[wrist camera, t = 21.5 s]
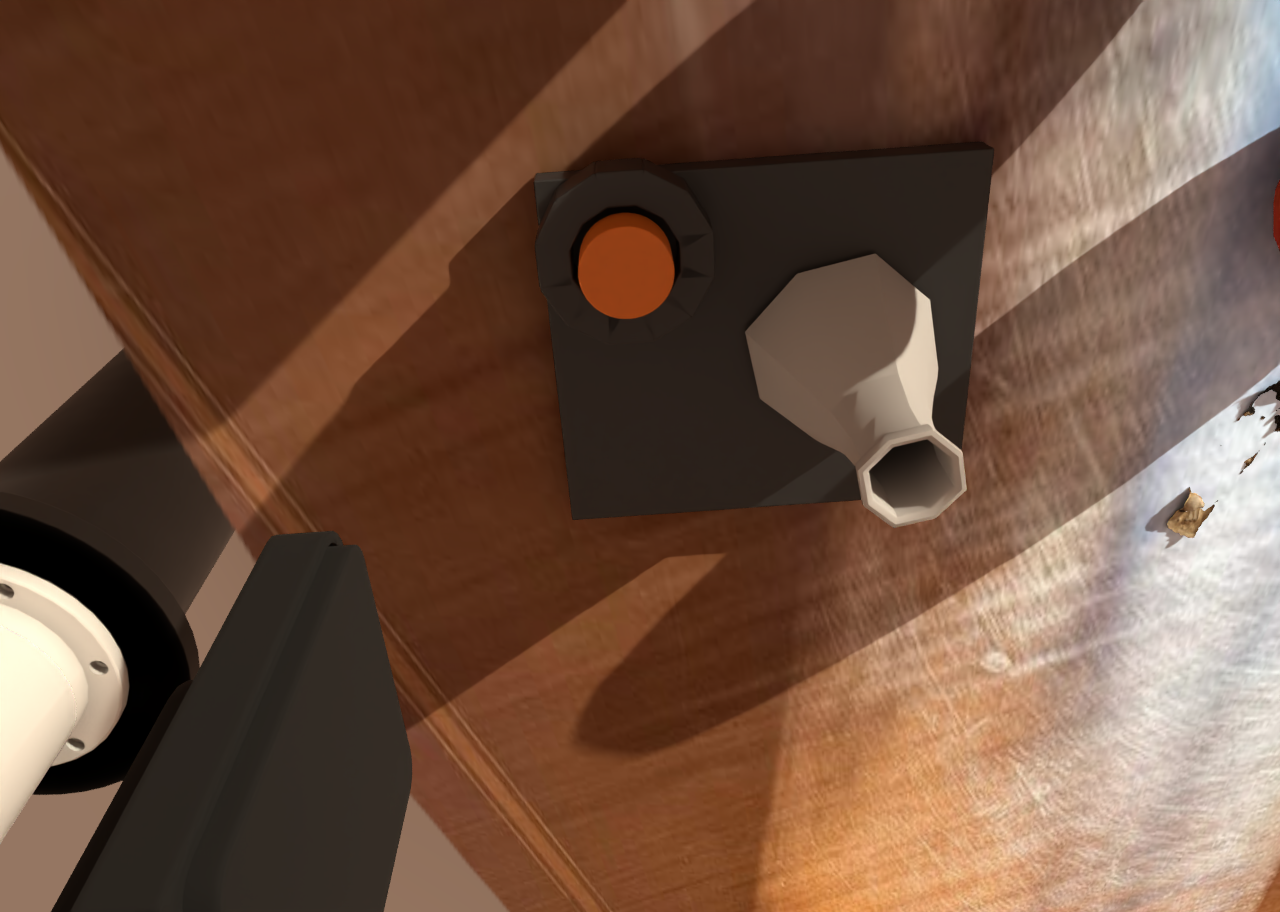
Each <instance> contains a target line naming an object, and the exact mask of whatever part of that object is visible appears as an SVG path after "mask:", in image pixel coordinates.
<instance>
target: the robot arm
mask: <svg viewBox="0 0 1280 912" xmlns="http://www.w3.org/2000/svg"><path fill="white" fill-rule="evenodd" d="M129 688H130V684H129V674H128V667H127V664H126V661H125V658H124V656H123V653H122V650H121V648H120V646H119V645H118V643H117V641H116V640H115V638H114V636H113V635H112V633H111V631H110V630H109V629H108V628H107V626H106V625H105V624H104V623H103V622H102V621H101V620H100V619H99V617H98V616H97V615H96V614H95V613H94V612H93V611H92V610H91V609H90V608H88V607H87V606H86V605H85V604H84V603H82V602H81V601H80V600H79V599H78V598H76V597H75V596H74V595H72V594H71V593H69V592H67V591H66V590H64V589H63V588H61V587H59V586H58V585H56V584H55V583H53V582H51V581H49V580H47V579H45V578H43V577H40V576H38V575H36V574H34V573H31V572H29V571H27V570H25V569H22V568H18V567H15V566H12V565H8V564H5V563H2V562H0V843H1V842H2V840H3V839H4V837H5V836H6V834H7V832H8V831H9V829H10V828H11V826H12V825H13V823H14V822H15V820H16V818H17V817H18V815H19V814H20V812H21V811H22V809H23V808H24V806H25V805H26V803H27V801H28V800H29V798H30V797H31V795H32V794H33V792H34V791H35V789H36V788H37V786H38V785H39V783H40V781H41V780H42V778H43V777H44V775H45V774H46V772H47V771H48V769H49V768H50V766H56V765H59V764H62V763H65V762H69V761H72V760H75V759H77V758H79V757H81V756H83V755H85V754H86V753H88V752H90V751H92V750H94V749H95V748H96V747H97V746H98V745H99V744H100V743H102V742H103V741H104V740H105V739H106V738H107V737H108V735H109V734H110V732H111V731H112V729H113V728H114V727H115V725H116V724H117V722H118V720H119V719H120V717H121V715H122V713H123V711H124V708H125V706H126V704H127V699H128V694H129ZM411 781H412V759H411V751H410V746H409V742H408V738H407V734H406V730H405V725H404V721H403V717H402V713H401V709H400V705H399V701H398V696H397V692H396V688H395V684H394V680H393V676H392V671H391V667H390V663H389V659H388V655H387V651H386V647H385V642H384V638H383V634H382V630H381V626H380V622H379V617H378V613H377V609H376V605H375V601H374V597H373V592H372V588H371V584H370V580H369V576H368V572H367V568H366V563H365V559H364V556H363V553H362V551H361V549H360V547H359V546H357V545H344V546H343V543H342V540H341V538H340V537H339V535H338V534H337V533H336V532H334V531H325V532H311V533H296V534H282V535H275V536H272V537H271V538H270V539H269V540H268V542H267V543H266V545H265V547H264V549H263V551H262V553H261V554H260V556H259V558H258V560H257V562H256V564H255V566H254V568H253V570H252V571H251V573H250V575H249V577H248V579H247V581H246V583H245V584H244V586H243V588H242V590H241V592H240V594H239V596H238V598H237V599H236V601H235V603H234V605H233V607H232V609H231V611H230V613H229V615H228V616H227V618H226V620H225V622H224V624H223V626H222V628H221V630H220V631H219V633H218V635H217V637H216V639H215V641H214V643H213V644H212V646H211V649H210V650H209V652H208V654H207V656H206V658H205V660H204V661H203V663H202V665H201V667H200V669H199V671H198V673H197V675H196V676H195V678H194V680H189V681H187V682H185V683H183V684H181V685H180V686H178V687H177V688H176V690H175V691H174V692H173V694H172V695H171V696H170V698H169V699H168V701H167V702H166V704H165V706H164V708H163V710H162V712H161V713H160V715H159V717H158V719H157V721H156V722H155V724H154V726H153V728H152V730H151V731H150V733H149V735H148V737H147V739H146V740H145V742H144V744H143V746H142V748H141V750H140V751H139V753H138V755H137V757H136V759H135V760H134V762H133V764H132V766H131V768H130V769H129V771H128V773H127V775H126V777H125V779H124V780H123V782H122V784H121V786H120V788H119V790H118V791H117V793H116V795H115V797H114V799H113V801H112V802H111V804H110V806H109V808H108V809H107V811H106V813H105V815H104V817H103V819H102V820H101V822H100V824H99V826H98V827H97V830H96V831H95V833H94V835H93V837H92V838H91V840H90V842H89V844H88V846H87V848H86V849H85V851H84V853H83V855H82V856H81V858H80V860H79V862H78V864H77V866H76V867H75V869H74V871H73V873H72V875H71V876H70V878H69V880H68V882H67V884H66V885H65V887H64V889H63V891H62V893H61V895H60V896H59V898H58V900H57V902H56V904H55V905H54V907H53V909H52V911H51V912H383V911H384V907H385V903H386V898H387V893H388V889H389V884H390V880H391V875H392V871H393V867H394V862H395V857H396V853H397V848H398V844H399V839H400V835H401V830H402V826H403V821H404V817H405V812H406V808H407V803H408V799H409V794H410V789H411Z"/></svg>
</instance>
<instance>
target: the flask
mask: <svg viewBox="0 0 1280 912" xmlns="http://www.w3.org/2000/svg"><path fill="white" fill-rule="evenodd" d="M745 334H746V339H747V343H748V348H749V352H750V357H751V361H752V366H753V370H754V375H755V379H756V384H757V388H758V393H759V397H760V399H761V400H762V401H764V402H765V403H766V404H768V405H769V406H770V407H772V408H773V409H774V410H776V411H777V412H778V413H780V414H781V415H783V416H784V417H785V418H787V419H788V420H789V421H791V422H792V423H793V424H795V425H796V426H797V427H799V428H800V429H801V430H803V431H804V432H805V433H807V434H808V435H809V436H811V437H812V438H813V439H815V440H817V441H819V442H820V443H822V444H825V445H827V446H829V447H831V448H833V449H835V450H837V451H840V452H841V453H843V454H845V455H846V457H847V458H848V459H849V460H850V461H851V462H852V463H853V464H854V465H855V466H856V472H857V478H858V484H859V489H860V495H861V501H862V504H863V506H864V507H866V508H867V509H868V510H870V511H871V512H872V513H874V514H875V515H876V516H878V517H879V518H881V519H882V520H883V521H885V522H886V523H887V524H889V525H890V526H892V527H893V528H896V527H900V526H905V525H909V524H913V523H918V522H922V521H927V520H931V519H935V518H937V517H938V516H939V515H940V514H941V513H942V512H943V511H944V510H945V509H946V508H947V507H949V506H950V505H951V504H952V503H953V502H954V501H955V500H956V499H957V498H958V497H959V496H961V495H962V494H963V493H964V492H965V491H966V490H967V487H966V478H965V469H964V461H963V453H962V451H961V450H960V449H959V448H958V447H957V446H955V445H954V444H953V443H952V442H950V441H949V440H948V439H947V438H945V437H944V436H943V435H941V434H940V433H939V432H938V431H936V429H935V427H934V425H933V421H932V407H933V398H934V393H935V388H936V382H937V377H938V362H937V354H936V345H935V337H934V329H933V321H932V312H931V304H930V300H929V299H928V298H927V297H926V296H925V295H924V294H922V293H921V292H920V291H919V290H918V289H916V288H915V287H914V286H913V285H912V284H911V283H909V282H908V281H907V280H906V279H905V278H904V277H902V276H901V275H900V274H899V273H898V272H897V271H895V270H894V269H893V268H892V267H891V266H889V265H888V264H887V263H886V262H885V261H884V260H882V259H881V258H880V257H879V256H878V255H877V254H872V255H868V256H864V257H860V258H856V259H852V260H848V261H844V262H840V263H836V264H833V265H829V266H825V267H821V268H817V269H813V270H809V271H805V272H801V273H798V274H796V275H795V277H794V278H793V279H792V280H791V281H790V282H789V283H788V284H787V286H786V287H785V288H784V289H783V290H782V291H781V292H780V293H779V294H778V296H777V297H776V298H775V299H774V300H773V301H772V302H771V303H770V305H769V306H768V307H767V308H766V309H765V310H764V311H763V312H762V313H761V315H760V316H759V317H758V318H757V319H756V320H755V321H754V322H753V323H752V325H751V326H750V327H749V328H748V329H747V330H746V331H745Z"/></svg>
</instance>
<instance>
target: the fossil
mask: <svg viewBox="0 0 1280 912" xmlns="http://www.w3.org/2000/svg"><path fill="white" fill-rule="evenodd" d="M1269 390H1273V391H1275V392H1277V395H1276V399H1277V400H1279V401H1280V381H1278V382H1277V383H1276V384H1273V385H1272V386H1269V387H1268V388H1267V389H1266V390H1265V391H1264V392H1262V393H1260V394H1259V395H1258V396H1260V395H1261V394H1263V393H1265V392H1268V391H1269ZM1257 398H1258V397H1257ZM1257 398H1256V399H1257ZM1256 399H1255V400H1256ZM1255 400H1254V401H1255ZM1254 401H1253V402H1252V403H1251V405H1250V407H1249V409H1248V410H1247V411H1246V412H1245V413H1244V414H1243V415H1244V416H1247V415H1253V414H1254V413H1255V409H1254V407H1252V405H1253V403H1254ZM1279 409H1280V408H1279ZM1276 411H1277V410H1276ZM1240 418H1241V417H1240ZM1240 418H1239V419H1238V420H1240ZM1264 418H1265V417H1264V416H1262V417H1261V419H1264ZM1274 418H1275V423H1276V424H1277V427H1276V430H1275V431H1277V432H1278V431H1280V416H1279V415H1276V416H1275V417H1274ZM1275 431H1274V432H1275ZM1265 443H1266V442H1265ZM1264 445H1265V444H1264ZM1259 451H1260V450H1259ZM1256 455H1257V454H1255V455H1254V456H1253V457H1251V458H1249V459H1248V460H1246V461H1245V462H1244V463H1246V466H1245V467H1244V469H1245V468H1246V467H1247V466H1249V465H1250V464H1251V463H1252V461H1253V460H1254V458H1255V456H1256ZM1242 472H1243V470H1242ZM1242 472H1241V473H1242ZM1241 473H1240V474H1241ZM1189 492H1190V495H1189V497H1188V499H1187V501H1186V502H1185V503H1184V508H1182V509H1179V510H1177V511H1176V512H1175V514H1174V515H1173V516H1172V517H1171V518H1170V519H1169V521H1168V523H1167V525H1168V528H1169V529H1172V530H1173V531H1174V532H1176V533H1180V535H1184V536H1186V537H1188V538H1193V537H1194V536H1195V535H1196V532H1197V531H1198V528H1199V527H1200V526H1201V524H1202V522H1203V521H1204V520H1205V519H1206V518H1207V517H1208V516H1209V513H1210V512H1212V510H1213V508H1214V505H1213V506H1212V507H1210V508H1208V509H1207V510H1206V511H1203V510H1202V509H1201V508H1203V507H1204V502H1203V501H1202V498H1201V497H1200V496H1198V495H1197V494H1196V493H1191V490H1190V488H1189ZM1216 502H1217V501H1216ZM1216 502H1215V503H1216ZM1186 511H1187V512H1186Z"/></svg>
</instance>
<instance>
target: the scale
mask: <svg viewBox="0 0 1280 912" xmlns="http://www.w3.org/2000/svg"><path fill="white" fill-rule="evenodd" d="M993 156H994V148H992V147H991V146H989V145H987V144H986V143H984V142H970V143H956V144H942V145H928V146H914V147H900V148H886V149H872V150H858V151H844V152H830V153H815V154H801V155H787V156H773V157H759V158H745V159H731V160H717V161H703V162H689V163H675V164H661V165H656V164H654V163H652V162H650V161H648V160H646V159H641V158H632V159H618V160H604V161H596V162H593V163H591V164H590V165H588V166H587V167H585V168H584V169H583V170H577V171H563V172H549V173H537V174H536V175H535V179H534V190H535V199H536V208H537V216H538V225H539V227H538V230H537V235H536V240H535V253H536V262H537V270H538V279H539V287H540V289H541V292H542V293H543V294H544V296H545V297H546V298H547V303H548V312H549V321H550V330H551V338H552V347H553V356H554V364H555V373H556V382H557V391H558V399H559V408H560V417H561V425H562V434H563V443H564V452H565V460H566V469H567V478H568V486H569V495H570V504H571V513H572V519H573V520H580V519H594V518H609V517H623V516H637V515H652V514H666V513H681V512H695V511H709V510H724V509H738V508H752V507H767V506H781V505H795V504H810V503H824V502H839V501H853V500H861V495H860V489H859V484H858V478H857V472H856V466H855V465H854V464H853V463H852V462H851V461H850V460H849V459H848V458H847V457H846V455H845V454H843V453H841V452H840V451H837V450H835V449H833V448H831V447H829V446H827V445H825V444H822V443H820V442H819V441H817V440H815V439H813V438H812V437H811V436H809V435H808V434H807V433H805V432H804V431H803V430H801V429H800V428H799V427H797V426H796V425H795V424H793V423H792V422H791V421H789V420H788V419H787V418H785V417H784V416H783V415H781V414H780V413H778V412H777V411H776V410H774V409H773V408H772V407H770V406H769V405H768V404H766V403H765V402H764V401H762V400H761V399H760V397H759V393H758V388H757V384H756V379H755V375H754V370H753V366H752V361H751V357H750V352H749V348H748V343H747V339H746V334H745V331H746V330H747V329H748V328H749V327H750V326H751V325H752V323H753V322H754V321H755V320H756V319H757V318H758V317H759V316H760V315H761V313H762V312H763V311H764V310H765V309H766V308H767V307H768V306H769V305H770V303H771V302H772V301H773V300H774V299H775V298H776V297H777V296H778V294H779V293H780V292H781V291H782V290H783V289H784V288H785V287H786V286H787V284H788V283H789V282H790V281H791V280H792V279H793V278H794V277H795V275H796V274H798V273H801V272H805V271H809V270H813V269H817V268H821V267H825V266H829V265H833V264H836V263H840V262H844V261H848V260H852V259H856V258H860V257H864V256H868V255H872V254H877V255H878V256H879V257H880V258H881V259H882V260H884V261H885V262H886V263H887V264H888V265H889V266H891V267H892V268H893V269H894V270H895V271H897V272H898V273H899V274H900V275H901V276H902V277H904V278H905V279H906V280H907V281H908V282H909V283H911V284H912V285H913V286H914V287H915V288H916V289H918V290H919V291H920V292H921V293H922V294H924V295H925V296H926V297H927V298H928V299H929V300H930V304H931V312H932V321H933V329H934V337H935V345H936V354H937V362H938V377H937V382H936V388H935V393H934V398H933V407H932V421H933V425H934V427H935V429H936V431H938V432H939V433H940V434H941V435H943V436H944V437H945V438H947V439H948V440H949V441H950V442H952V443H953V444H954V445H955V446H957V447H958V448H959V449H960V450H962V441H963V432H964V423H965V414H966V405H967V395H968V386H969V377H970V368H971V359H972V349H973V340H974V331H975V322H976V313H977V303H978V294H979V285H980V276H981V267H982V258H983V248H984V239H985V230H986V221H987V212H988V202H989V193H990V184H991V175H992V166H993ZM622 212H629V213H636V214H640V215H642V216H645V217H647V218H649V219H651V220H652V221H653V222H655V223H656V224H657V225H658V226H659V227H660V228H661V229H662V230H663V232H664V233H665V235H666V236H667V238H668V241H669V243H670V247H671V251H672V257H673V262H674V269H675V276H674V282H673V286H672V289H671V291H670V293H669V295H668V297H667V298H666V300H665V301H664V302H663V303H662V304H661V305H660V306H659V307H658V308H657V309H655V310H654V311H653V312H651V313H649V314H647V315H644V316H642V317H638V318H633V319H619V318H614V317H611V316H608V315H605V314H603V313H602V312H600V311H598V310H597V309H596V308H594V307H593V306H592V305H591V304H590V303H589V301H588V300H587V299H586V297H585V296H584V294H583V292H582V290H581V287H580V284H579V279H578V264H579V253H580V247H581V243H582V241H583V238H584V237H585V235H586V233H587V232H588V231H589V229H590V228H591V227H592V226H593V225H594V224H595V223H596V222H598V221H599V220H601V219H602V218H604V217H606V216H609V215H612V214H615V213H622Z"/></svg>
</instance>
